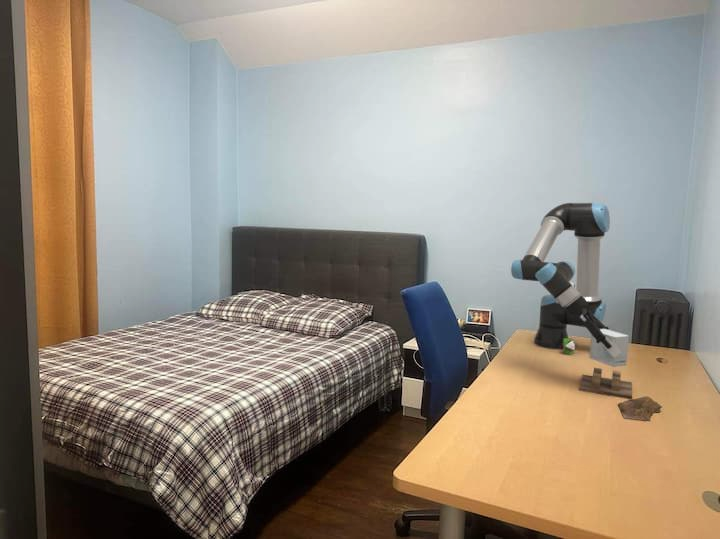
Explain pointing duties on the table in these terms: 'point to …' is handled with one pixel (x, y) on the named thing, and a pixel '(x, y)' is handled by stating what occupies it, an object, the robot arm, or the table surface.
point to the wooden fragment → (639, 408)
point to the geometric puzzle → (568, 345)
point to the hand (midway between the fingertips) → (617, 351)
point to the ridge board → (606, 384)
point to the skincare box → (603, 355)
